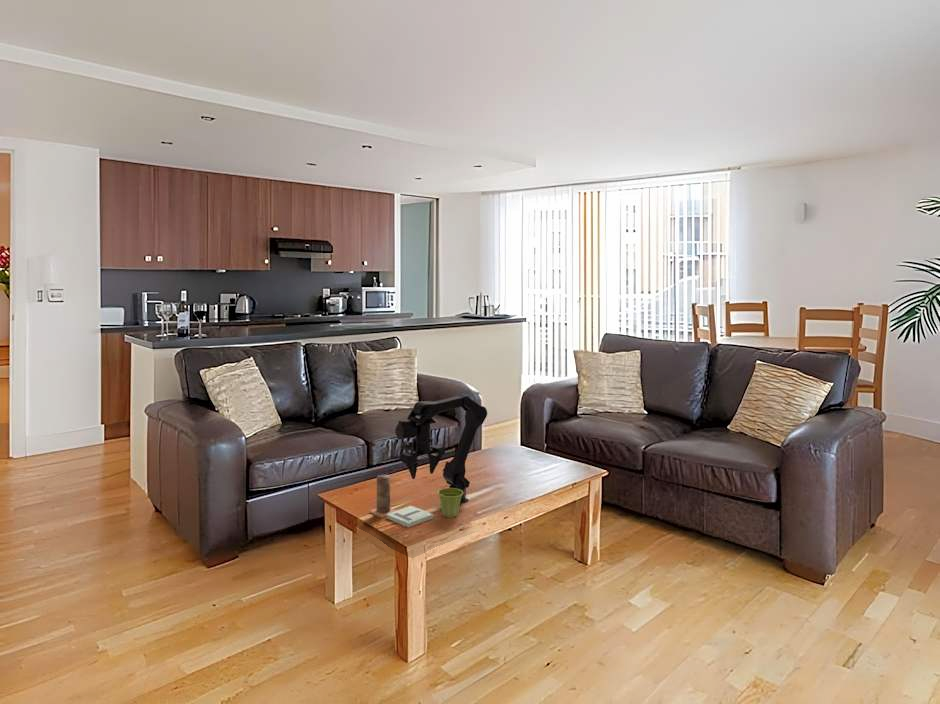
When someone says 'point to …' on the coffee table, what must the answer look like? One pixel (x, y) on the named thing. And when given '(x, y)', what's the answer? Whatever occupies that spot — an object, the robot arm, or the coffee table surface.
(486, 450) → the coffee table surface
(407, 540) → the coffee table surface
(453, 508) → the plant pot
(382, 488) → the walnut post
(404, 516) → the letter board
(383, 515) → the terracotta tile
